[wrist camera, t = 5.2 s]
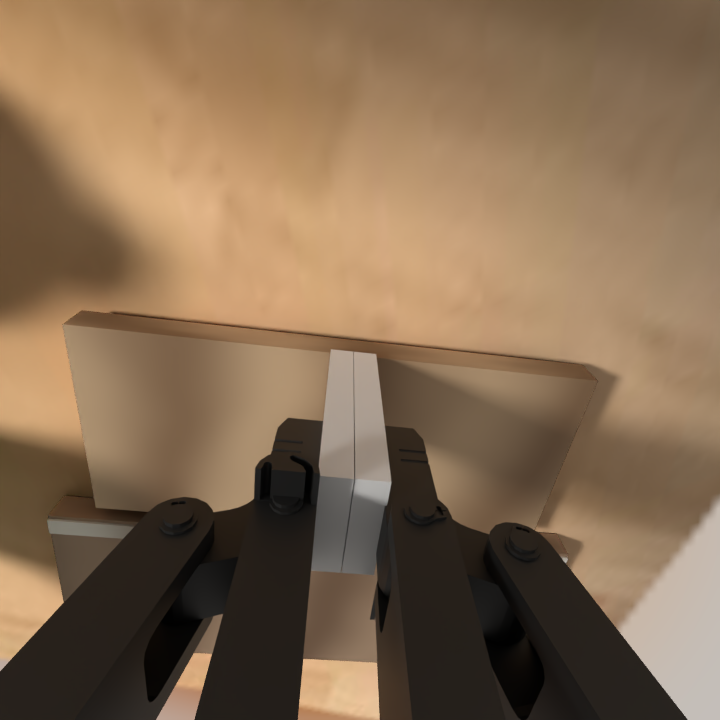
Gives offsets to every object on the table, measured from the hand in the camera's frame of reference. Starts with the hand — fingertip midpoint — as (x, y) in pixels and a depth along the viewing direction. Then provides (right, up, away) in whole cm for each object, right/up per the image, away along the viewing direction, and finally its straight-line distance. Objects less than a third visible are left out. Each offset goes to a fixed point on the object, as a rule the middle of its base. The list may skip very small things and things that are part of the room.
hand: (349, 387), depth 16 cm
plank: (-1, -2, +3) cm, 3 cm away
